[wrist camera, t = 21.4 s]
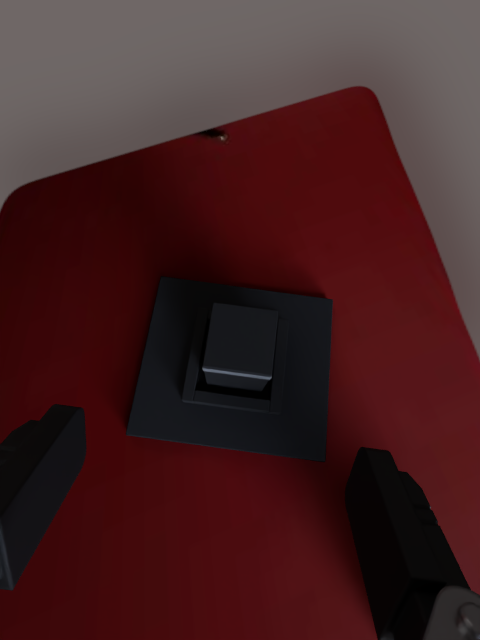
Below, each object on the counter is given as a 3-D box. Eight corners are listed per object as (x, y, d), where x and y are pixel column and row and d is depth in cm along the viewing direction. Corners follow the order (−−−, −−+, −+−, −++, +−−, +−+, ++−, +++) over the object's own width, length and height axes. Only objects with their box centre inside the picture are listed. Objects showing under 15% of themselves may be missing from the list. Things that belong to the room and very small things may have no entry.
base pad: (128, 435, 32) (120, 434, 30) (162, 280, 37) (158, 268, 35) (322, 461, 32) (330, 462, 30) (330, 303, 37) (337, 293, 35)
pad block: (206, 386, 33) (201, 366, 25) (214, 334, 34) (212, 301, 27) (261, 393, 33) (272, 376, 25) (266, 341, 34) (279, 310, 27)
